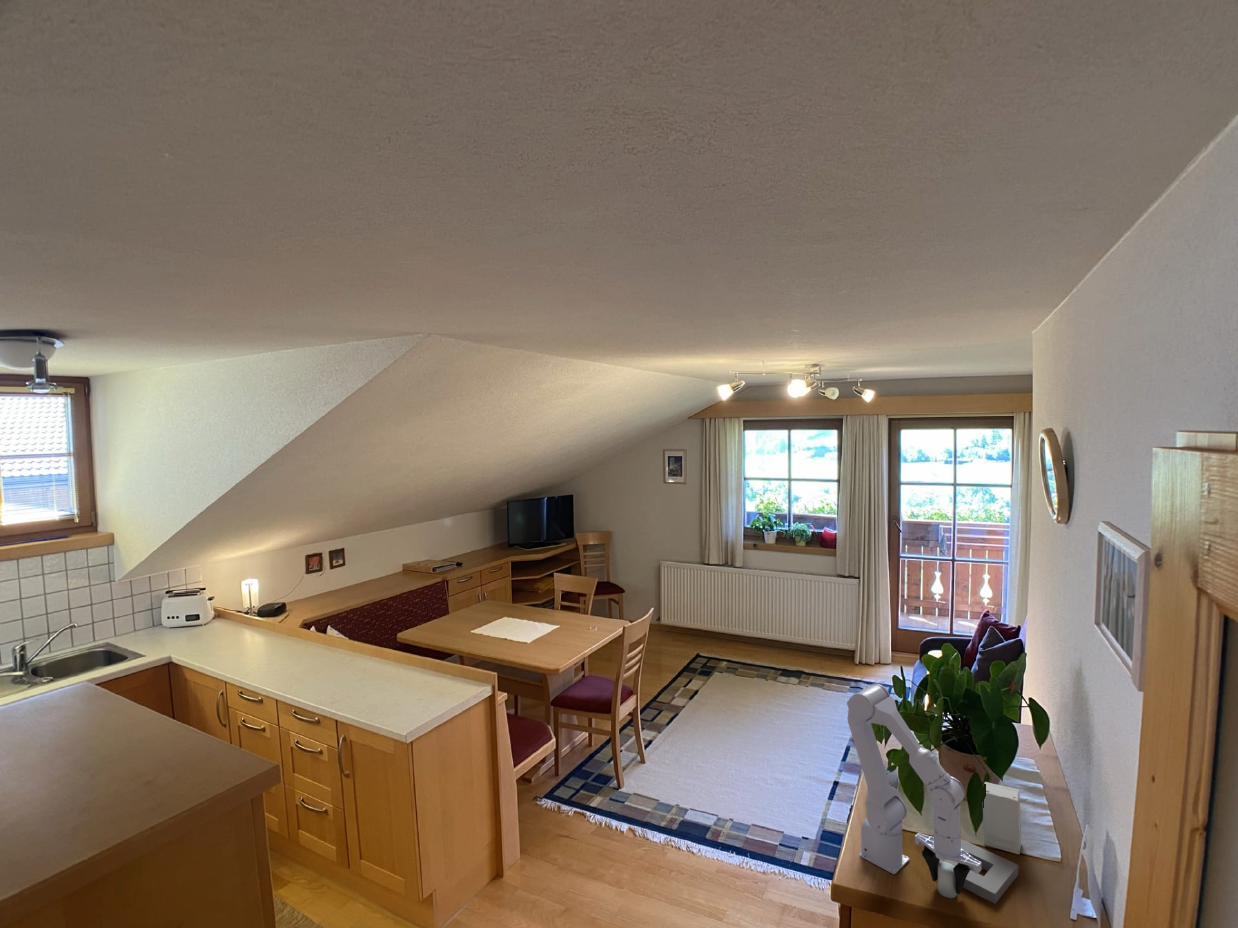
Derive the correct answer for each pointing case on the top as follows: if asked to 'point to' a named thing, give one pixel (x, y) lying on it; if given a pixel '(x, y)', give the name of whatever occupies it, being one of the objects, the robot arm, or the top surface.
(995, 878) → the dock
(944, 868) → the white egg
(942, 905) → the top surface
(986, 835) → the skincare box
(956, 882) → the robot arm
